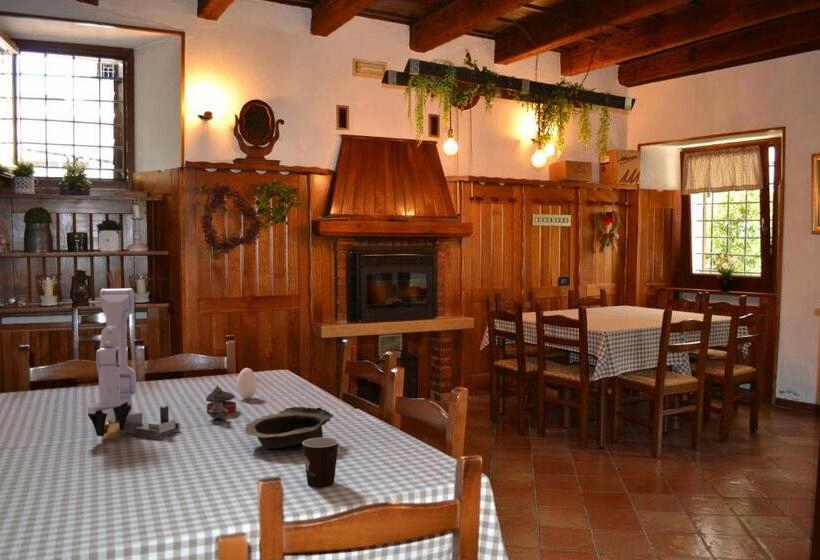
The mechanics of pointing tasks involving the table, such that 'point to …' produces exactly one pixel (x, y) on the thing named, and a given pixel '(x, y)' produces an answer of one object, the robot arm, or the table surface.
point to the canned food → (223, 402)
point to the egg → (246, 383)
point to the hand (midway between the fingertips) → (110, 432)
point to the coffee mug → (320, 461)
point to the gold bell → (111, 431)
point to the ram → (163, 421)
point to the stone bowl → (289, 426)
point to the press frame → (143, 428)
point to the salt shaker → (217, 407)
